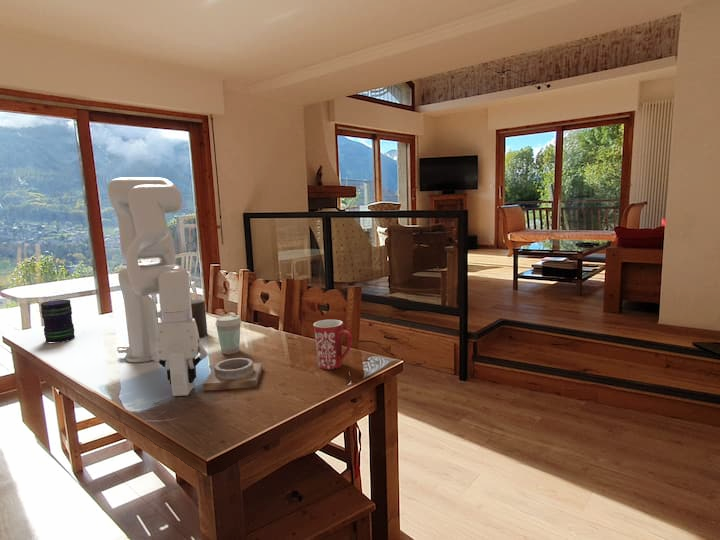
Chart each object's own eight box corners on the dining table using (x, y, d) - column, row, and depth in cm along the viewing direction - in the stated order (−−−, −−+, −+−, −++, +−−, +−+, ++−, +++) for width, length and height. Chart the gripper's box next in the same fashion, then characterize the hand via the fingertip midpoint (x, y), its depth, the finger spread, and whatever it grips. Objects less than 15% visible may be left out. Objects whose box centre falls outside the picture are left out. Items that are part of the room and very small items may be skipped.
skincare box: (178, 387, 125) (174, 345, 123) (194, 386, 125) (191, 344, 123) (171, 396, 119) (167, 353, 117) (188, 395, 119) (184, 352, 117)
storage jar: (56, 344, 171) (51, 305, 169) (39, 342, 175) (33, 304, 172) (81, 336, 180) (76, 300, 178) (64, 334, 184) (59, 298, 182)
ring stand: (204, 390, 123) (202, 374, 122) (215, 371, 137) (214, 357, 136) (256, 387, 124) (255, 371, 124) (262, 368, 138) (261, 354, 137)
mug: (309, 367, 138) (307, 324, 136) (327, 358, 145) (325, 317, 143) (342, 375, 131) (341, 330, 129) (360, 365, 138) (358, 322, 136)
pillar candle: (202, 339, 172) (199, 300, 170) (176, 339, 172) (173, 300, 170) (211, 332, 181) (208, 295, 179) (187, 332, 182) (184, 295, 180)
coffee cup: (236, 356, 151) (233, 321, 149) (212, 355, 152) (210, 320, 151) (247, 348, 159) (245, 314, 157) (225, 347, 161) (222, 314, 159)
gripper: (137, 321, 114) (144, 389, 117) (206, 318, 116) (211, 385, 119) (148, 313, 122) (154, 378, 125) (212, 310, 123) (217, 374, 126)
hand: (182, 381), depth 122 cm, fingers closed on skincare box, 4 cm apart
